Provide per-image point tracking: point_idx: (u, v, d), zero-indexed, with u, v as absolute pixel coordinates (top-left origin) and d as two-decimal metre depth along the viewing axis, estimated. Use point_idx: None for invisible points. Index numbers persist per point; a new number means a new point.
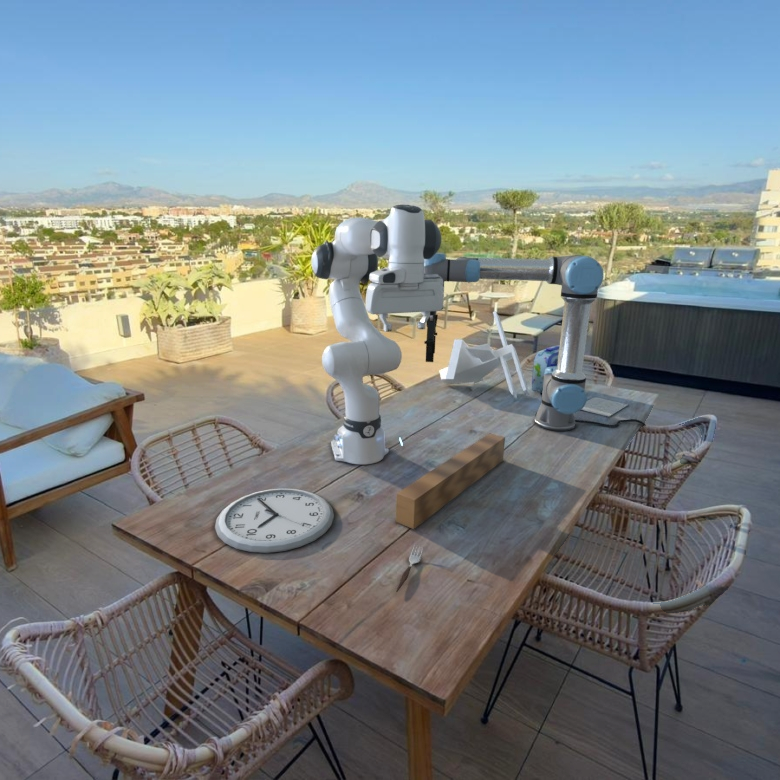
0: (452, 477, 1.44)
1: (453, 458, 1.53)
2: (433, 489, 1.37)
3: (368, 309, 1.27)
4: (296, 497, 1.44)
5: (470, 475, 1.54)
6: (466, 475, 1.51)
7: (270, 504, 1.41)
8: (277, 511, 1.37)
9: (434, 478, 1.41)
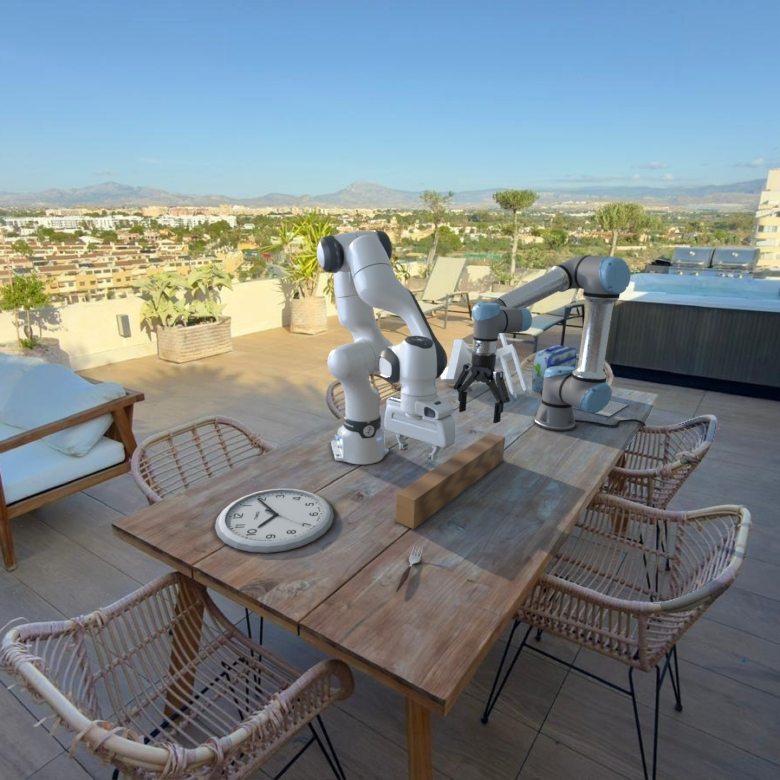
0: (452, 477, 1.44)
1: (453, 458, 1.53)
2: (433, 489, 1.37)
3: (452, 442, 1.25)
4: (296, 497, 1.44)
5: (470, 475, 1.54)
6: (466, 475, 1.51)
7: (270, 504, 1.41)
8: (277, 511, 1.37)
9: (434, 478, 1.41)
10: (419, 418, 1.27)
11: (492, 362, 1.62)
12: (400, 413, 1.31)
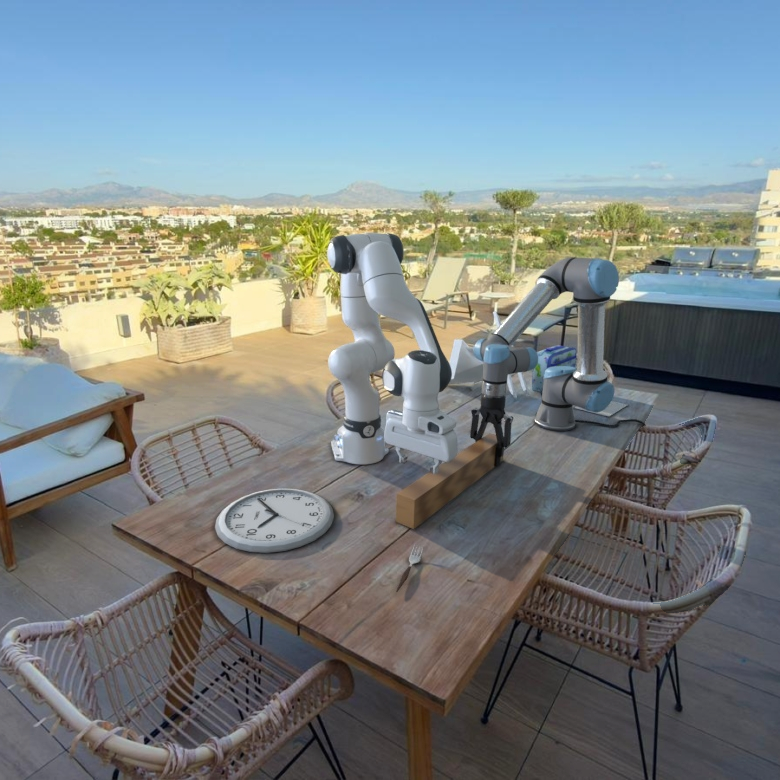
0: (452, 477, 1.44)
1: None
2: (433, 489, 1.37)
3: (454, 456, 1.27)
4: (296, 497, 1.44)
5: (470, 475, 1.54)
6: (466, 475, 1.51)
7: (270, 504, 1.41)
8: (277, 511, 1.37)
9: (434, 478, 1.41)
10: (422, 432, 1.28)
11: (503, 404, 1.61)
12: (401, 427, 1.32)
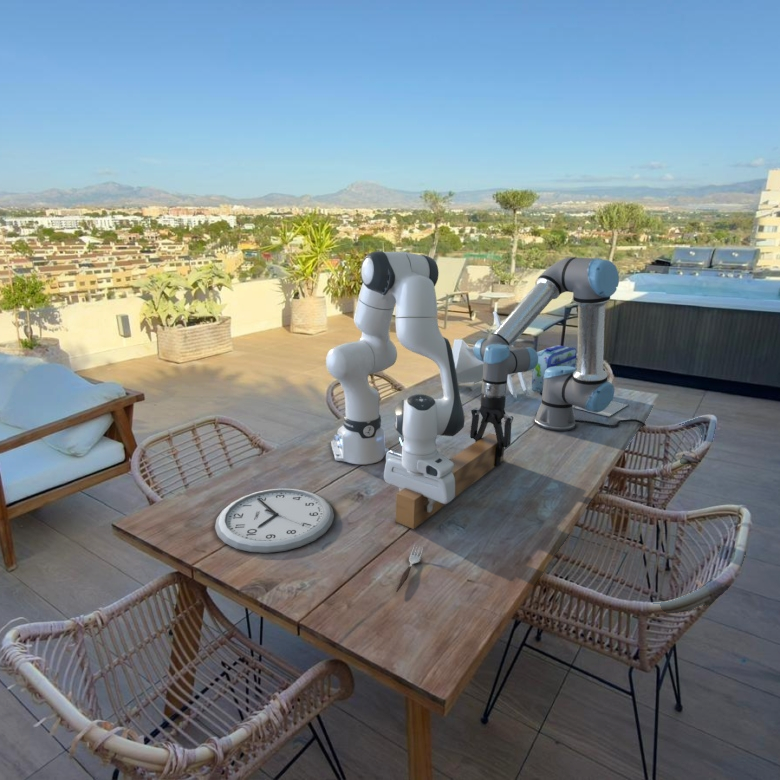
0: None
1: (453, 458, 1.53)
2: None
3: (452, 498, 1.30)
4: (296, 497, 1.44)
5: (470, 475, 1.54)
6: (466, 475, 1.51)
7: (270, 504, 1.41)
8: (277, 511, 1.37)
9: None
10: (420, 474, 1.31)
11: (503, 404, 1.61)
12: (400, 468, 1.35)
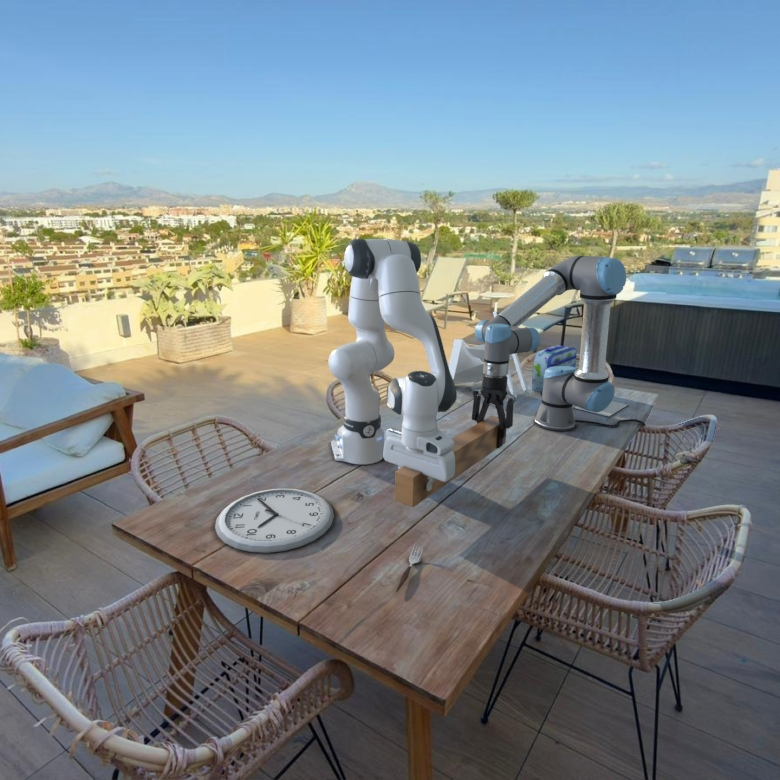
0: None
1: (454, 438, 1.52)
2: None
3: (452, 476, 1.28)
4: (296, 497, 1.44)
5: (471, 456, 1.52)
6: (467, 455, 1.50)
7: (270, 504, 1.41)
8: (277, 511, 1.37)
9: None
10: (420, 452, 1.29)
11: (505, 384, 1.59)
12: (400, 445, 1.33)
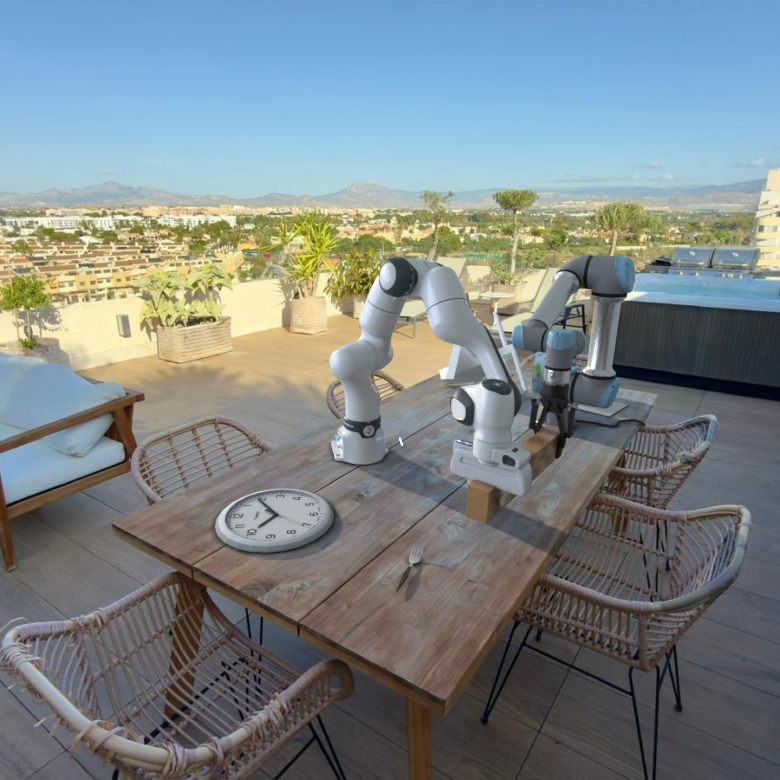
0: None
1: None
2: None
3: (529, 490, 1.21)
4: (296, 497, 1.44)
5: (535, 467, 1.45)
6: (532, 467, 1.42)
7: (270, 504, 1.41)
8: (277, 511, 1.37)
9: None
10: (494, 465, 1.22)
11: (567, 392, 1.52)
12: (471, 458, 1.26)
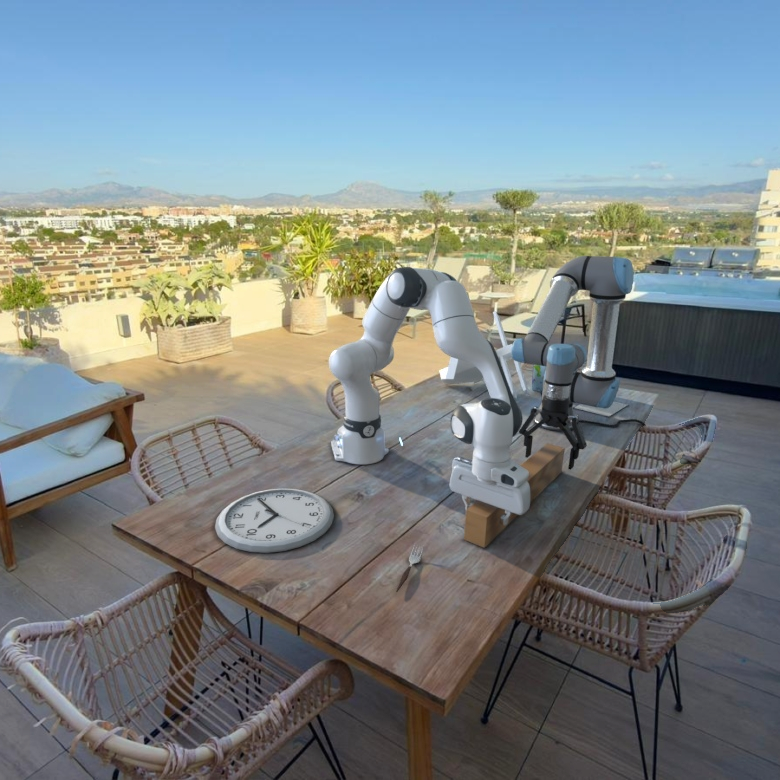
0: None
1: None
2: None
3: (527, 508, 1.22)
4: (296, 497, 1.44)
5: (534, 488, 1.46)
6: (531, 489, 1.44)
7: (270, 504, 1.41)
8: (277, 511, 1.37)
9: None
10: (493, 483, 1.23)
11: (567, 407, 1.53)
12: (470, 476, 1.27)
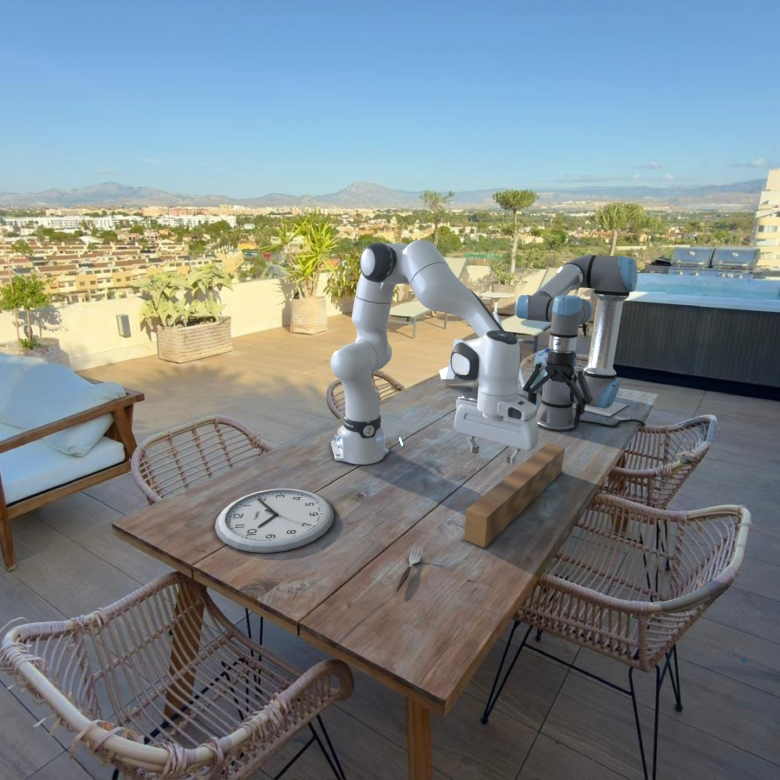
0: (519, 491, 1.37)
1: (516, 471, 1.46)
2: (503, 505, 1.29)
3: (535, 445, 1.17)
4: (296, 497, 1.44)
5: (534, 488, 1.46)
6: (531, 489, 1.44)
7: (270, 504, 1.41)
8: (277, 511, 1.37)
9: (502, 493, 1.34)
10: (499, 419, 1.18)
11: (573, 360, 1.49)
12: (475, 414, 1.22)
